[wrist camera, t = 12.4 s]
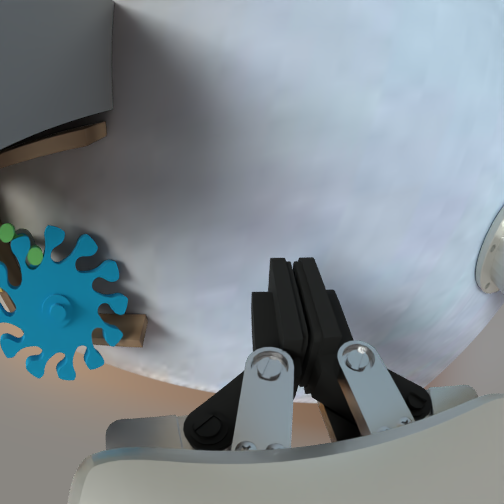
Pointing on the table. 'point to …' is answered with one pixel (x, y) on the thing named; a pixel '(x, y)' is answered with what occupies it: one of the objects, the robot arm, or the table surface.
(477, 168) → the table surface
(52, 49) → the box
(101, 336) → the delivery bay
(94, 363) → the gear
